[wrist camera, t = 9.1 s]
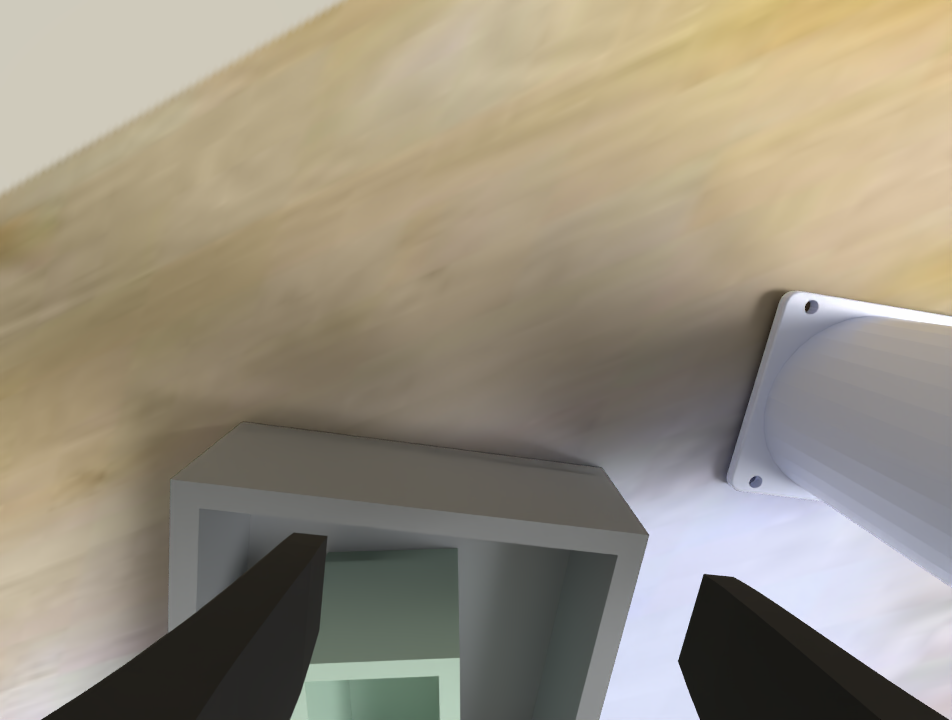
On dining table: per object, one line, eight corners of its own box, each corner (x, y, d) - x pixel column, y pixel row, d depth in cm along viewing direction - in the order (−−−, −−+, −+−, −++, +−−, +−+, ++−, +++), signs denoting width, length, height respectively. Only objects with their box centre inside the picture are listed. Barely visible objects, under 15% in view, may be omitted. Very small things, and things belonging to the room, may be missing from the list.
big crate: (602, 468, 18) (648, 534, 14) (521, 806, 22) (538, 942, 18) (242, 421, 17) (170, 479, 13) (223, 788, 21) (163, 928, 17)
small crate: (457, 548, 18) (459, 657, 13) (459, 730, 20) (461, 883, 15) (328, 551, 18) (280, 665, 13) (342, 736, 20) (307, 893, 15)
